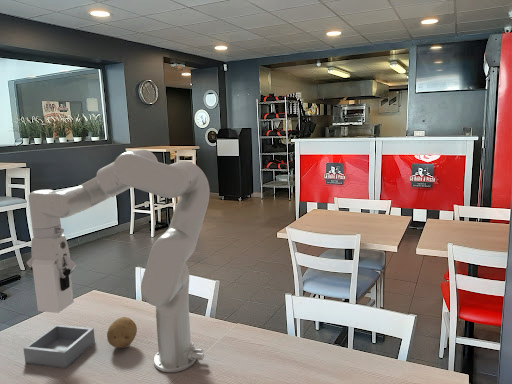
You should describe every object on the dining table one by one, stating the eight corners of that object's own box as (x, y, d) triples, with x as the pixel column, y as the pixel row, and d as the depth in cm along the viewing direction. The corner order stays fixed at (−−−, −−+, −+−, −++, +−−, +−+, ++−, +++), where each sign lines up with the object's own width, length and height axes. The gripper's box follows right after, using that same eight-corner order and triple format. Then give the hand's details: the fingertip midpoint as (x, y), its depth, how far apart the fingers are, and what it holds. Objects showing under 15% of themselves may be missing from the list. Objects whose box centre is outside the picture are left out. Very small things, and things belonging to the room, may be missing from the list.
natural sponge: (131, 356, 121) (129, 326, 119) (103, 356, 121) (100, 326, 120) (141, 340, 130) (139, 312, 128) (115, 340, 130) (112, 312, 129)
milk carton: (58, 313, 117) (51, 252, 114) (37, 311, 119) (30, 251, 115) (74, 302, 124) (67, 244, 121) (54, 301, 125) (47, 243, 122)
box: (95, 342, 129) (93, 328, 128) (66, 368, 116) (64, 352, 115) (57, 338, 132) (55, 324, 131) (25, 363, 119) (23, 348, 118)
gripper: (81, 229, 119) (87, 284, 122) (31, 227, 122) (38, 281, 125) (64, 236, 112) (71, 295, 115) (12, 234, 115) (19, 291, 118)
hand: (54, 287), depth 120 cm, fingers closed on milk carton, 7 cm apart
